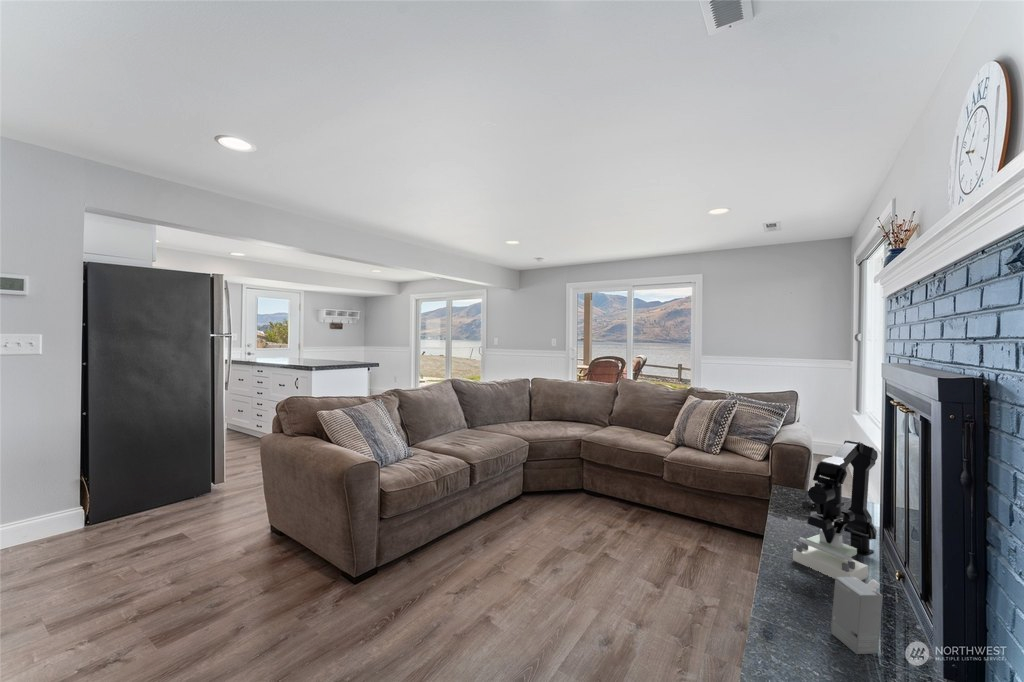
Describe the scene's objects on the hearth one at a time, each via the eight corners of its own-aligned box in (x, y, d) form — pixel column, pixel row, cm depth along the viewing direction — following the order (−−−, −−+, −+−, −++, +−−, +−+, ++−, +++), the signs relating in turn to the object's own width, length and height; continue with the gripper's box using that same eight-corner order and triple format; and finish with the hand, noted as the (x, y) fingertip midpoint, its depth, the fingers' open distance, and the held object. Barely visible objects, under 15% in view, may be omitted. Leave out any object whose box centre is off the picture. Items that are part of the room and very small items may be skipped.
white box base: (810, 553, 162) (810, 536, 161) (867, 577, 145) (868, 559, 145) (793, 560, 157) (793, 543, 157) (850, 585, 141) (850, 566, 140)
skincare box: (830, 633, 118) (830, 575, 118) (854, 632, 119) (854, 574, 118) (857, 656, 110) (857, 594, 109) (883, 654, 110) (883, 592, 110)
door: (813, 537, 160) (813, 521, 160) (863, 556, 146) (863, 539, 146) (799, 542, 157) (799, 525, 156) (849, 563, 142) (849, 545, 142)
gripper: (821, 486, 163) (821, 527, 163) (791, 494, 154) (791, 538, 154) (855, 496, 153) (855, 540, 153) (825, 505, 144) (825, 552, 145)
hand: (831, 542), depth 151 cm, fingers closed on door, 2 cm apart
